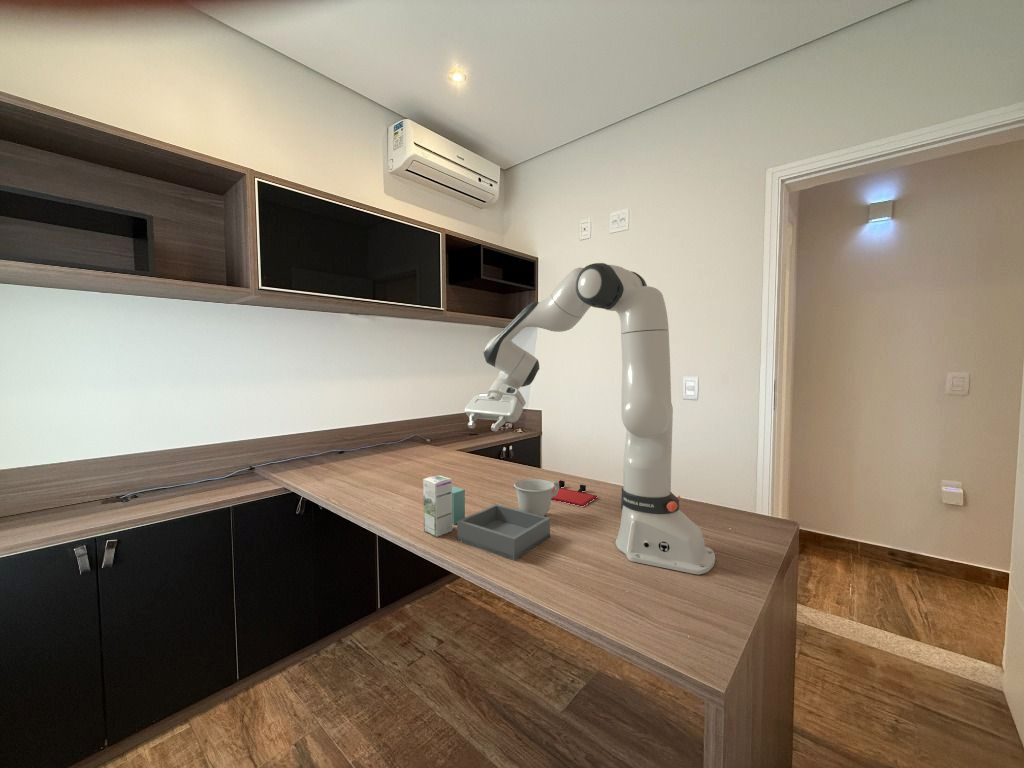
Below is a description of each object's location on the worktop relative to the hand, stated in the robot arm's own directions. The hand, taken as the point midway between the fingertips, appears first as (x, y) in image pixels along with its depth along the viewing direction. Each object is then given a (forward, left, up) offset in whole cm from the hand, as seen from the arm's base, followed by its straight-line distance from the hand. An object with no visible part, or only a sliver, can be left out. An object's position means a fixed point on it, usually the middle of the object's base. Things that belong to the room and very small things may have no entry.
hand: (481, 428), depth 125 cm
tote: (-19, +13, -25) cm, 34 cm away
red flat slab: (-10, -28, -26) cm, 39 cm away
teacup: (-18, -5, -25) cm, 31 cm away
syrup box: (-2, +20, -25) cm, 33 cm away
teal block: (0, +12, -25) cm, 28 cm away
